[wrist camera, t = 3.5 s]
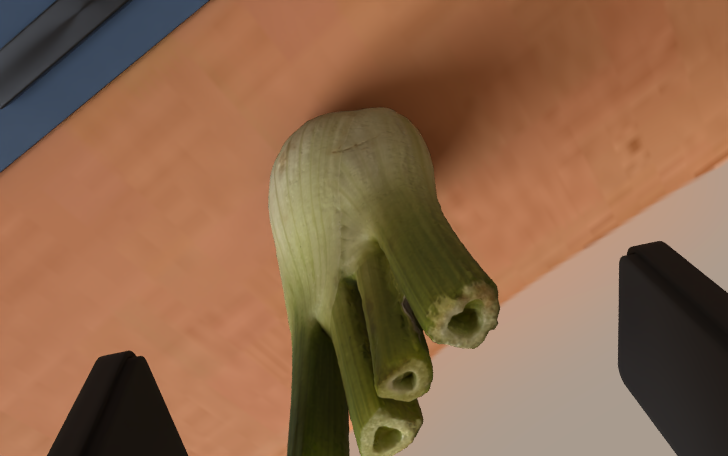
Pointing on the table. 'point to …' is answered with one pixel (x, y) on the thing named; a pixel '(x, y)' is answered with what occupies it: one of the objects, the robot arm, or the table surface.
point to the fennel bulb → (367, 280)
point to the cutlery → (50, 42)
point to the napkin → (79, 65)
